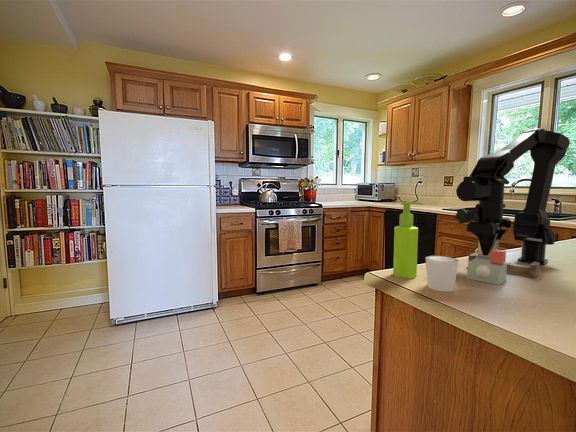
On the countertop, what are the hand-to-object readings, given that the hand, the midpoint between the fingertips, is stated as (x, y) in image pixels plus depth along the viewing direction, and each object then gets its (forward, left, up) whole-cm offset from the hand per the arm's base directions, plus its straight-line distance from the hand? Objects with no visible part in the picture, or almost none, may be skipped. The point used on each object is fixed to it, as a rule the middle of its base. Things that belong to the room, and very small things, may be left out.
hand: (488, 254), depth 84 cm
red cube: (+12, +5, 0) cm, 13 cm away
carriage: (0, 0, -4) cm, 4 cm away
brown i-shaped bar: (0, +3, -4) cm, 5 cm away
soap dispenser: (+24, -12, -4) cm, 27 cm away
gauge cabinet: (+12, +3, -4) cm, 13 cm away
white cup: (+27, -2, -4) cm, 27 cm away
